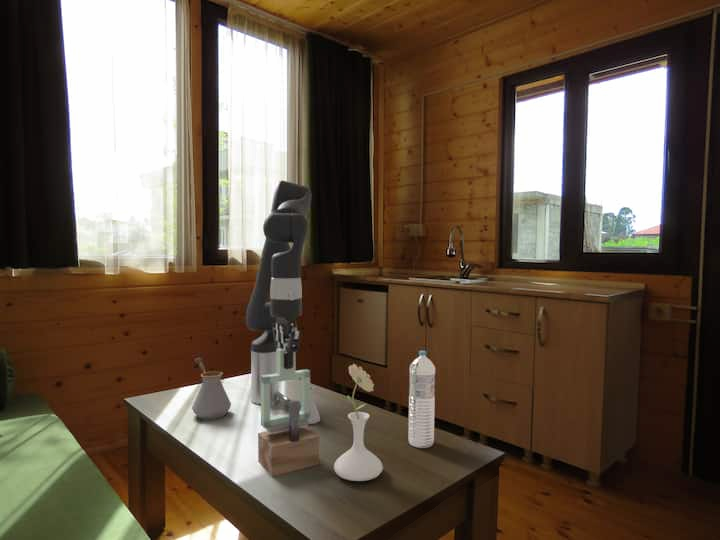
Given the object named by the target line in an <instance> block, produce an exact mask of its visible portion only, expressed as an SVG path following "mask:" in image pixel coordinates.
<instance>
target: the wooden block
mask: <svg viewBox="0 0 720 540" xmlns="http://www.w3.org/2000/svg"><path fill="white" fill-rule="evenodd" d="M257 435H258V436H257V438H258V439H257V445H258V446H257V448H258V450H257V460H258V461H257V462H260V463H261V464H260V463H259V464H260V465H261V466H262V467H263V468H265V469H266V470H267V471H268V472H269V473H268V472H267V471H266V470H265V469H264V470H265V471H266V472H267V473H268V475H269V476H270V475H271V476H273V477H275V475H277V476H280V475H284V474H287V473H291V472H296V471H299V470H303V469H306V468H310V467H315V466H318V465H319V464H320V461H319V460H320V457H319V456H320V435H318V434H317V433H316V432H315V431H313V429H311V428H309V427H308V425H307V426H302V427H299V441H297V442H291V441H289V429H288V430H283V431H279V432H274V433H269V432H268V431H267V430H265V431H260V432H258V433H257ZM271 476H270V477H271Z"/></svg>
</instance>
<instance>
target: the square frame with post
mask: <svg viewBox="0 0 720 540" xmlns="http://www.w3.org/2000/svg"><path fill="white" fill-rule="evenodd" d="M296 353H297V352H295V353H293V368H291V369H285V368H284V348H279V349H276V374H269V375H262V376H261V404H260V426H261V427H263V428H264V429H265V431H268V432H269V433H274V432H279V431H283V430H288V429H289V413H284V414H279V415H274V416H271V409H270V383H274V382H279V383H280V382H284V381H285V382H286V381H292V380H297V379H298V380H299V379H300V380H301V382H300V383H301V384H300V387H301V388H300V389H301V391H300V393H301V394H300V395H301V396H300V398H301V399H300V400H301V402H300V405H301V406H300V410H301V411H300V410H299V427H302V426H307V427H308V426H310V424H309V421H308V420H307V419H309V418H310V387H311V370H310V369H307V368H305V369H300V370H299V369H298V370H296V369H297V365H296V359H297V357H296Z"/></svg>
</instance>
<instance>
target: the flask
mask: <svg viewBox="0 0 720 540" xmlns="http://www.w3.org/2000/svg"><path fill="white" fill-rule="evenodd" d="M314 391H315V387H314V386H310V418H309V419H307V420H308V421H309V425H314V424H317V423H319V422H320V421H321V416H320V413H319V410H318V408H317V405H316V402H315V399H314ZM299 411H301V409H299Z"/></svg>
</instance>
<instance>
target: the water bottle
mask: <svg viewBox="0 0 720 540" xmlns="http://www.w3.org/2000/svg"><path fill="white" fill-rule="evenodd" d="M418 353H419V354H418V355H419V356H418V357H416V358H415V359H414V360H413V361H412V362H411V364H410V365H409V368H408V369H409V395H408V432H407V433H408V438H407V439H408V443H409V445H411V447H414V448H418V449H428V448H431V447H432V446H433V445H434V443H435V441H434V440H435V409H436V408H435V403H436V401H435V400H436V399H435V398H436V397H435V389H436V388H435V383H436V382H435V378H436V367H435V364H434V363H433V362H432V361H431V359H429V358H428V357H427V351H426V350H419V351H418Z"/></svg>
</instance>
